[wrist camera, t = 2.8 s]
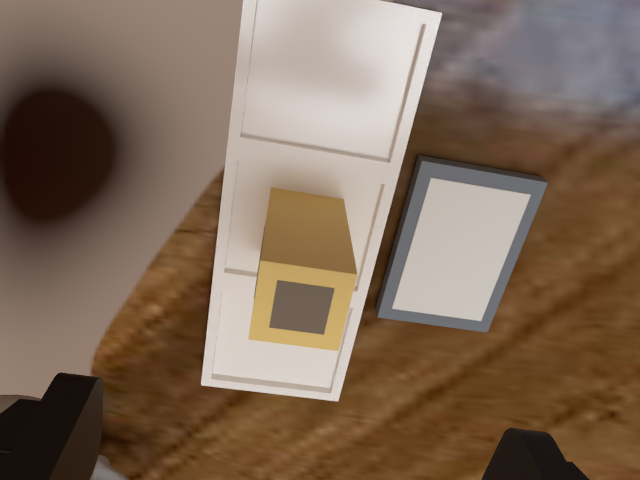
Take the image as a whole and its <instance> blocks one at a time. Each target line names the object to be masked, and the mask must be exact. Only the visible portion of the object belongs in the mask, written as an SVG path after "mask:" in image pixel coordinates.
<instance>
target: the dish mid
mask: <svg viewBox="0 0 640 480" xmlns="http://www.w3.org/2000/svg"><path fill="white" fill-rule="evenodd" d="M397 180H398V176H397V175H391V174H385V173H380V172H374V171H368V170H362V169H356V168H350V167H344V166H338V165H332V164H326V163H320V162H314V161H308V160H303V159H297V158H291V157H285V156H279V155H273V154H267V153H261V152H255V151H249V150H243V149H237V148H231V147H227V153H226V161H225V170H224V179H223V188H222V197H221V207H220V216H219V225H218V234H217V243H216V252H215V261H214V270H213V280H216V281H223V282H230V283H237V284H245V285H252V286H256V280H257V273H258V266H259V260H260V253H261V247H262V240H263V234H264V227H265V223H266V217H267V210H268V204H269V197H270V191H271V188H277V189H284V190H290V191H296V192H302V193H308V194H315V195H321V196H327V197H333V198H339V199H344V203H345V209H346V214H347V220H348V225H349V231H350V236H351V242H352V247H353V253H354V258H355V263H356V269H357V274H358V275H357V279H356V283H355V287H354V291H353V295H352V298H351V300H359V301H365V300H366V296H367V292H368V288H369V285H370V281H371V277H372V273H373V270H374V266H375V262H376V258H377V255H378V251H379V247H380V244H381V240H382V236H383V232H384V229H385V225H386V221H387V217H388V214H389V210H390V206H391V203H392V199H393V195H394V191H395V188H396V184H397Z"/></svg>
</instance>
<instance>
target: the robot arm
mask: <svg viewBox="0 0 640 480" xmlns="http://www.w3.org/2000/svg"><path fill="white" fill-rule="evenodd" d="M102 407H103V380H102V378H101V377H93V376H84V375H76V374H67V373H58V374H57V375H56V376H55V377H54V379H53V381H52V382H51V384H50V386H49V387H48V389H47V391H46V392H45V394H44V396H43V397H42V399H41V401H37V400H28V399H19V400H17V401H16V402H15V403H13V404H12V405H11V406H9V407H8V408H7V409H5V410H4V411H3V412H1V413H0V480H90V479H91V476H92V474H93V471H94V468H95V465H96V462H97V458H98V454H99V450H100V444H101V436H102ZM482 480H589V479H588V478H587V477H586V476H585V475H584V474H583V473H582V472H581V471H580V470H579V469H578V467H577V466H576V465H575V464H574V463H573V462H566V460H565V458H564V456H563V455H562V453H561V451H560V449H559V448H558V446H557V444H556V442H555V441H554V439H553V438H552V436H551V435H550V434H548V433H546V432H540V431H532V430H523V429H515V428H510V429H508V430H506V431H505V433H504V434H503V436H502V438H501V440H500V442H499V444H498V446H497V448H496V451H495V453H494V455H493V457H492V459H491V461H490V463H489V465H488V467H487V469H486V471H485V473H484V475H483V477H482Z"/></svg>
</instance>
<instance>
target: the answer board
mask: <svg viewBox="0 0 640 480" xmlns="http://www.w3.org/2000/svg"><path fill="white" fill-rule="evenodd" d="M547 184H548V182H547V181H546V180H544V179H543V178H542V177H541V176H537V175H531V174H525V173H519V172H514V171H508V170H502V169H496V168H491V167H485V166H479V165H473V164H468V163H462V162H456V161H450V160H445V159H439V158H433V157H427V156H422V155H418V158H417V161H416V165H415V168H414V172H413V176H412V179H411V183H410V186H409V190H408V193H407V197H406V201H405V204H404V208H403V211H402V215H401V218H400V222H399V226H398V229H397V233H396V236H395V240H394V243H393V247H392V250H391V254H390V258H389V261H388V265H387V268H386V272H385V275H384V279H383V283H382V286H381V290H380V293H379V297H378V300H377V304H376V313H377V317H379V318H386V319H393V320H400V321H408V322H415V323H422V324H429V325H437V326H444V327H451V328H459V329H466V330H473V331H480V332H488V330H489V327H490V325H491V322H492V320H493V317H494V315H495V312H496V310H497V307H498V305H499V302H500V300H501V298H502V295H503V293H504V290H505V288H506V285H507V283H508V280H509V278H510V275H511V273H512V270H513V268H514V266H515V263H516V261H517V258H518V256H519V253H520V251H521V248H522V246H523V243H524V241H525V238H526V236H527V233H528V231H529V229H530V226H531V224H532V221H533V219H534V216H535V214H536V211H537V209H538V206H539V204H540V201H541V199H542V197H543V194H544V192H545V189H546V187H547Z"/></svg>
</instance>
